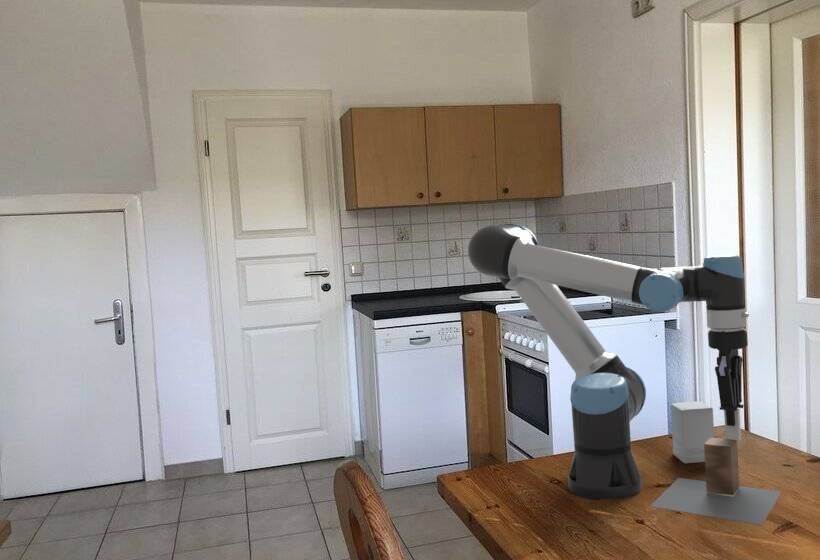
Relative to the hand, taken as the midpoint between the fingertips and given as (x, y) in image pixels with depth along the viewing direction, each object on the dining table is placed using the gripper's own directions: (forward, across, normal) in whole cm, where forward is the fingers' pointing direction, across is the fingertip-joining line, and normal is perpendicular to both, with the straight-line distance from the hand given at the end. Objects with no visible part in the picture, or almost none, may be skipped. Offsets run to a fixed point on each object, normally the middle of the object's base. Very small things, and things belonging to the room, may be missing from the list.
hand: (733, 439), depth 152 cm
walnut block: (+8, -10, 0) cm, 12 cm away
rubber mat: (+8, -15, 0) cm, 17 cm away
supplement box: (+9, +10, +11) cm, 17 cm away
